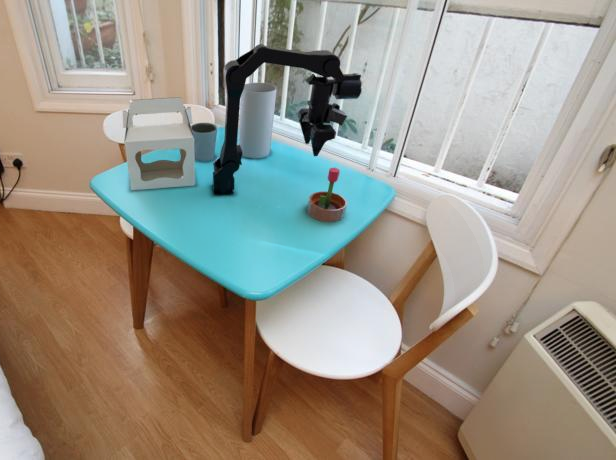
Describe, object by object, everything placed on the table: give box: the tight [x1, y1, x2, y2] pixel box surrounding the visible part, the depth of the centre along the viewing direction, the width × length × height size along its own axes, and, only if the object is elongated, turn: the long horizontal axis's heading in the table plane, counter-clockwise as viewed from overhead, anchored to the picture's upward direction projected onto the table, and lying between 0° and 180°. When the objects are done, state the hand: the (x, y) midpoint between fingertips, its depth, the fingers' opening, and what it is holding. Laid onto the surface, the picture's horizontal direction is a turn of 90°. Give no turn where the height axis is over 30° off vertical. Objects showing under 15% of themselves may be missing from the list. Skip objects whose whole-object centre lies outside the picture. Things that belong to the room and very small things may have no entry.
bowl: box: [306, 190, 348, 223], centre depth 112 cm, size 11×11×4 cm
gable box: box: [122, 96, 196, 191], centre depth 124 cm, size 22×13×28 cm, turn 96°
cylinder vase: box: [237, 82, 278, 160], centre depth 141 cm, size 12×12×25 cm
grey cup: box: [191, 122, 218, 163], centre depth 143 cm, size 10×10×12 cm
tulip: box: [317, 167, 341, 210], centre depth 109 cm, size 6×6×14 cm
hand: (311, 149), depth 118 cm, fingers open, 9 cm apart
